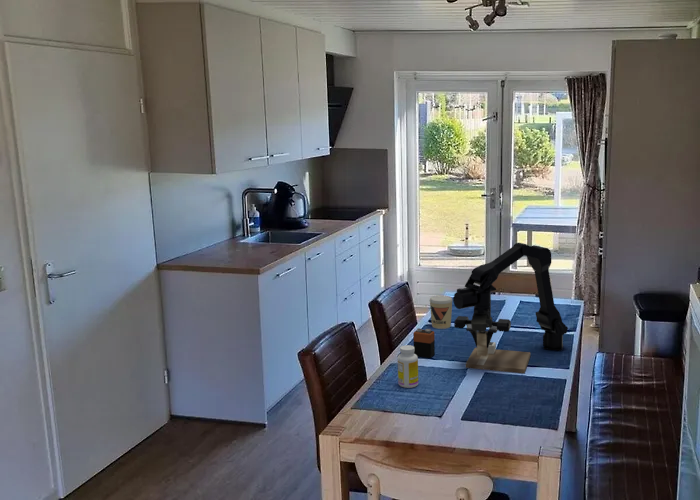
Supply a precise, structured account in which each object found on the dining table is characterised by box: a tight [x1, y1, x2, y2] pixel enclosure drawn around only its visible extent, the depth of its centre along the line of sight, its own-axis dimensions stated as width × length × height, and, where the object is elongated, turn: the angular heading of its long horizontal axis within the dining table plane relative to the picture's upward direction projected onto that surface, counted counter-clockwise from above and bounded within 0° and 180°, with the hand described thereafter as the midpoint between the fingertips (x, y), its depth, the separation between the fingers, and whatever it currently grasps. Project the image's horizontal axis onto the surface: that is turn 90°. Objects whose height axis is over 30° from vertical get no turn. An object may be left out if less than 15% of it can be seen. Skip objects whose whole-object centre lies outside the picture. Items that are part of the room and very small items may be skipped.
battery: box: [412, 327, 436, 359], centre depth 257 cm, size 4×7×10 cm, turn 61°
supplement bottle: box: [397, 344, 419, 389], centre depth 230 cm, size 7×7×13 cm
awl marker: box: [476, 330, 488, 356], centre depth 245 cm, size 3×3×9 cm
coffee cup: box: [429, 294, 453, 330], centre depth 289 cm, size 9×9×12 cm
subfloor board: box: [465, 347, 532, 374], centre depth 248 cm, size 20×17×2 cm
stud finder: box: [488, 341, 497, 354], centre depth 254 cm, size 6×4×3 cm, turn 69°
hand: (482, 347), depth 245 cm, fingers closed on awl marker, 3 cm apart
